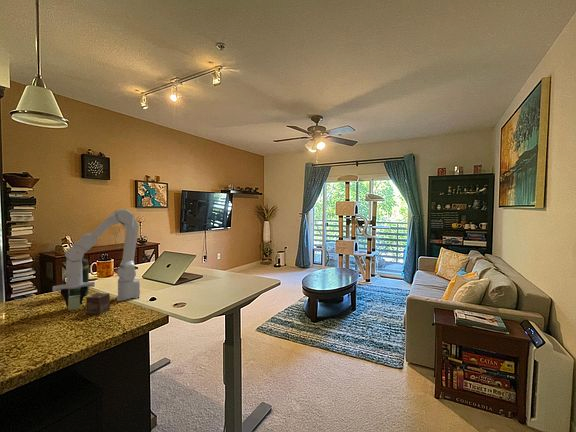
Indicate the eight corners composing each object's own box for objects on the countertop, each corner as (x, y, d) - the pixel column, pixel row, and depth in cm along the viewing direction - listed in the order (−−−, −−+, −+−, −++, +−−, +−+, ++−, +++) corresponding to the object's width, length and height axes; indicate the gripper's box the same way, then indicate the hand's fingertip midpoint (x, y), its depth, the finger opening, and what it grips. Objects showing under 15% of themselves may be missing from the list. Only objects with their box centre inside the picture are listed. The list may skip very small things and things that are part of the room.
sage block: (80, 305, 123) (80, 294, 123) (79, 308, 120) (79, 297, 120) (69, 307, 121) (69, 296, 121) (68, 310, 118) (68, 298, 118)
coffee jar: (88, 296, 137) (88, 259, 137) (68, 298, 133) (68, 261, 132) (89, 291, 145) (89, 256, 145) (70, 293, 140) (70, 258, 140)
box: (110, 309, 119) (110, 293, 119) (99, 315, 113) (99, 297, 113) (97, 309, 119) (97, 292, 119) (86, 314, 113) (85, 297, 113)
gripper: (51, 278, 113) (51, 310, 113) (94, 274, 121) (94, 304, 121) (54, 275, 119) (54, 305, 119) (94, 271, 127) (94, 300, 127)
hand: (74, 304), depth 120 cm, fingers closed on sage block, 4 cm apart
